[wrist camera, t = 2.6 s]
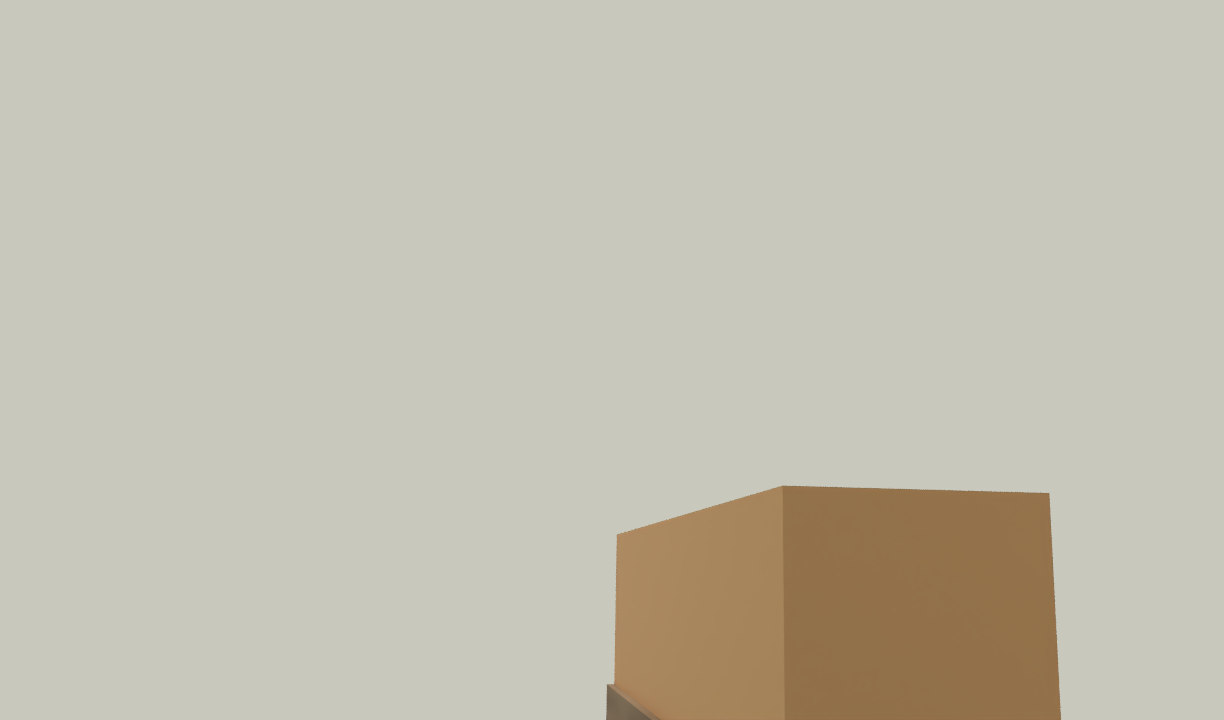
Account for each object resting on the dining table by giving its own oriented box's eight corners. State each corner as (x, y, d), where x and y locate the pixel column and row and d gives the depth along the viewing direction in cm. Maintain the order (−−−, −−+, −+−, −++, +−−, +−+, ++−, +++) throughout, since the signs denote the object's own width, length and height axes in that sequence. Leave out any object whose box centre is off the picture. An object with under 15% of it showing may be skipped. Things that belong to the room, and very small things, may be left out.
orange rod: (785, 814, 18) (782, 485, 19) (614, 684, 39) (616, 534, 40) (1065, 813, 18) (1049, 492, 19) (745, 685, 40) (744, 537, 41)
